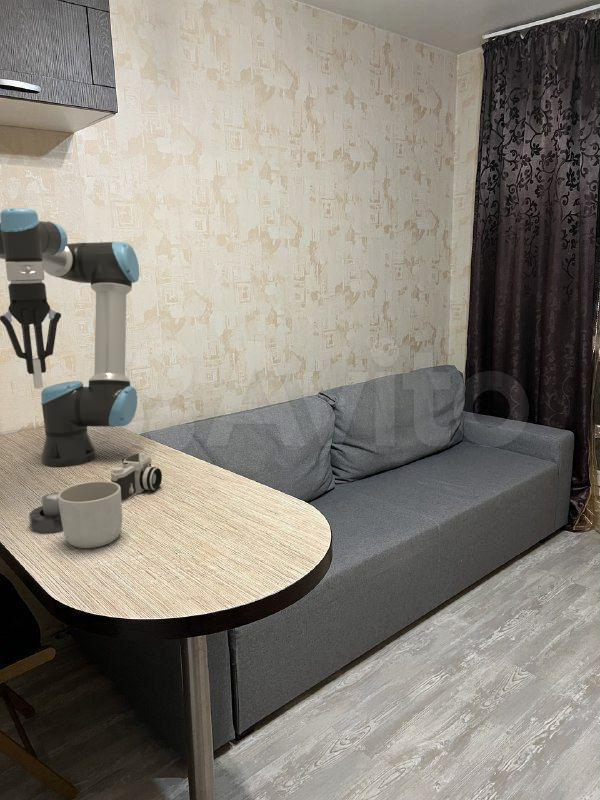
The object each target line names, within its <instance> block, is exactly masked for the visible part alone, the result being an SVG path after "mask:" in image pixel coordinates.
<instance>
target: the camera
mask: <svg viewBox="0 0 600 800" xmlns="http://www.w3.org/2000/svg"><path fill="white" fill-rule="evenodd" d="M110 477H111V478H110V482H114V483H117V484H118V485H119V486H120V487H121V502H122V503H124V501H125V502H127V501H128V500H129V498H130V499H132V496H133V497H134V496H136V495H137V494H142V493H143V492H144V491H157V490H158V489H159V488H160V486H161V484H162V480H163V474H162V471H161V468H159V467H158V466H152V458H151V456H150V455H149V454H147V453H146V452H138V453H135V454H132V455H126V456H125V457H123V458H121V464H118V465H116V466H115V467H114V468H113V469H111V472H110ZM135 494H136V495H135Z"/></svg>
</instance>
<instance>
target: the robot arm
mask: <svg viewBox="0 0 600 800" xmlns="http://www.w3.org/2000/svg"><path fill="white" fill-rule="evenodd" d="M0 259H1V260H5V269H6V279H7V281H8V282H10V283H9V284H8V285H7V286H8V287H7V288H8V295H9V306H8V309H7V310H8V311H7V312H5V313H3V314H1V315H0V322H1V323H2V324H3V325H4V327H5V329H6V332H7V334H8V338H9V339H10V343H11V346H12V348H13V350H14V352H15V355H16V357H17V358H19V359H24V360H25V364H26V372H27V373H28V375H32V379H33V387H34V388H35V389H36V390H37V389H42V391H41V392H40V393H41V403H40V404H41V409H42V415H43V425H44V432H45V439H44V443H43V449H42V451H41V461H42V462H41V463H42V465H43V466H45V467H48V468H70V467H76V466H81V465H85V464H88V463H90V462H92V461H94V460H95V459H96V458H97V453H96V448H95V445H94V444H93V442H92V439H91V437H90V435H89V432H88V427H93V428H94V427H95V428H97V427H99V428H100V427H101V428H102V427H104V428H106V427H109V428H116V427H126V426H128V425H130V423H132V421H133V419H134V417H135V416H136V411H137V408H138V407H137V405H138V393H137V389H136V388H135V387H134V386H131V380H130V379H129V378H128V377H127V376H126V348H127V347H126V344H127V343H126V341H127V339H126V337H127V336H126V335H127V333H126V332H127V330H126V329H127V295H128V294H129V293H130V292H132V289H133V284H135V283H136V282H138V281H139V277H140V264H139V261H138V257H137V255H136V251H135V250H134V248H133V246H131V244H129V243H128V242H124V241H122V242H120V241H114V240H113V241H108V242H107V241H106V242H104V241H103V242H75V243H68V235H67V232H66V231H65V229H64V228H63V227H62V226H61V225H59V224H58V223H54V222H51V221H41V220H39V215H38V213H37V211H36V210H35V209H32V208H20V207H19V208H17V207H16V208H4V209H2V210H1V211H0ZM45 273H46V274H48V275H49V276H52V277H55V278H60V279H63V280H67V281H71V282H75V283H80V284H82V283H83V284H86V283H87V284H90V288H91V289H92V290H93V292H95V319H94V320H95V324H94V325H95V326H94V327H95V329H94V332H95V333H94V374H93V375H92V376H91V377H89V379H88V386H84V383H83V381H82V380H81V381H80V380H73V381H65V382H61V383H57V384H52V385H49V386H46V387H44V384H43V375H42V374H44V373H47V372H46V371H47V367H46V358H47V357H49V356H53V354H54V349H55V342H56V335H57V328H58V323H59V321H60V319H61V317H62V314H61V313H60V312H59V311H55V310H53V309H51V306H50V304H49V302H48V298H47V289H46V284H45V283H44V282H43V281H45ZM47 315H48V318H49V323H48V331H47V336H46V337H47V338H46V344H44V335H43V322H44V321H45V319H46V318H47ZM12 317H13V318H14V319H16V321H17V322H18V323H19V324H20V328H21V332H22V340H23V349H24V352H23V349H22V347H21V345H20V342H19V340H18V337H17V334H16V331H15V329H14V326H13V324H12V321H13V318H12ZM30 325H33V329H34V339H35V346H36V355H37V357H36V358H34V357H33V348H32V347H33V346H32V341H31V340H32V339H31V330H30V329H31V328H30V327H31V326H30ZM45 345H46V346H45Z"/></svg>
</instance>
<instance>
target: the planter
mask: <svg viewBox="0 0 600 800" xmlns="http://www.w3.org/2000/svg"><path fill="white" fill-rule="evenodd" d="M58 493H59V494H58V502H59V509H60V515H61V522H62V527H63V531H62V532H63V534H64V537H65V539H66V541H67V543H68V544H69V545H72V546H73V547H75V548H79V549H94V548H99V547H103V546H105V545H108V544H110V543H112V542H114V541H115V540H117V538H118V537H119V536H120V534H121V532H122V529H123V528H122V526H123V509H122V508H123V505H122V504H123V502H121V487H120V486H119V485H118V484H117V483H114V482H112V481H108V480H107V481H106V480H93V481H92V480H91V481H83V482H80V483H75V484H72V485H70V486H68V487H65V488H63V489H61V490H60V491H59V492H58Z"/></svg>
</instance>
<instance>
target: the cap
mask: <svg viewBox="0 0 600 800" xmlns="http://www.w3.org/2000/svg"><path fill="white" fill-rule="evenodd" d="M58 494H59V492H53V493H47V494H45V495H43V496H42V497H41V501H42V502H41V504H42V505H41V506H43V513H44V516H45V517H55V516H59V515H60V509H59V502H58Z"/></svg>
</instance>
